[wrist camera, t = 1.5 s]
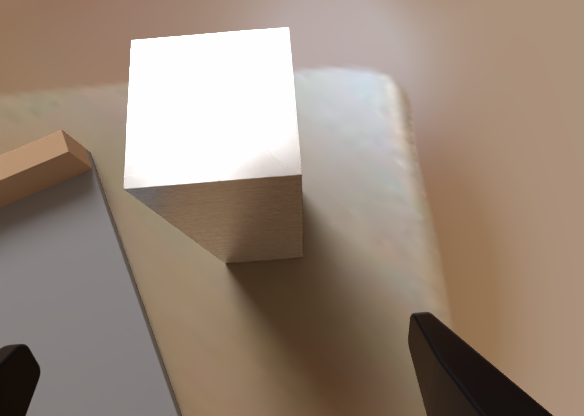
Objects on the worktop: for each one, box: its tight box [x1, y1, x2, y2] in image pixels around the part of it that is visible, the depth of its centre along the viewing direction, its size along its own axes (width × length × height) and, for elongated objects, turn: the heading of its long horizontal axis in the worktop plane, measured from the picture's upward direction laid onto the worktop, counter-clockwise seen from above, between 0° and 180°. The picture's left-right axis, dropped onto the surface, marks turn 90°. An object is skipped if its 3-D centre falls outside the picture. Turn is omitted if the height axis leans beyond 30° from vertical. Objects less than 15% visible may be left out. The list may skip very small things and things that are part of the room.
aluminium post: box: [124, 27, 303, 263], centre depth 16 cm, size 4×4×13 cm
